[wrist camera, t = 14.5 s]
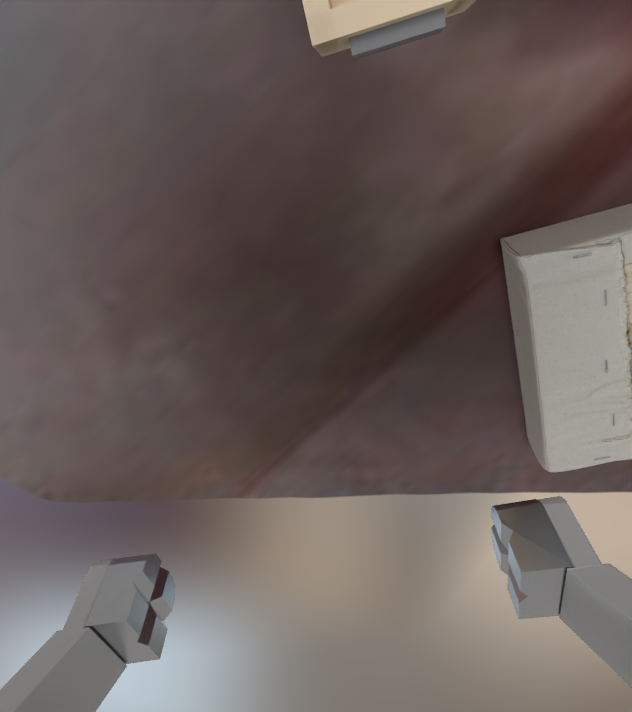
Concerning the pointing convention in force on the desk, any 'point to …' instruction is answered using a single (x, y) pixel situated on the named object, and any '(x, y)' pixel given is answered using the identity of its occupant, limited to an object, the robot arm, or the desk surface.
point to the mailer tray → (375, 23)
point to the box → (574, 337)
